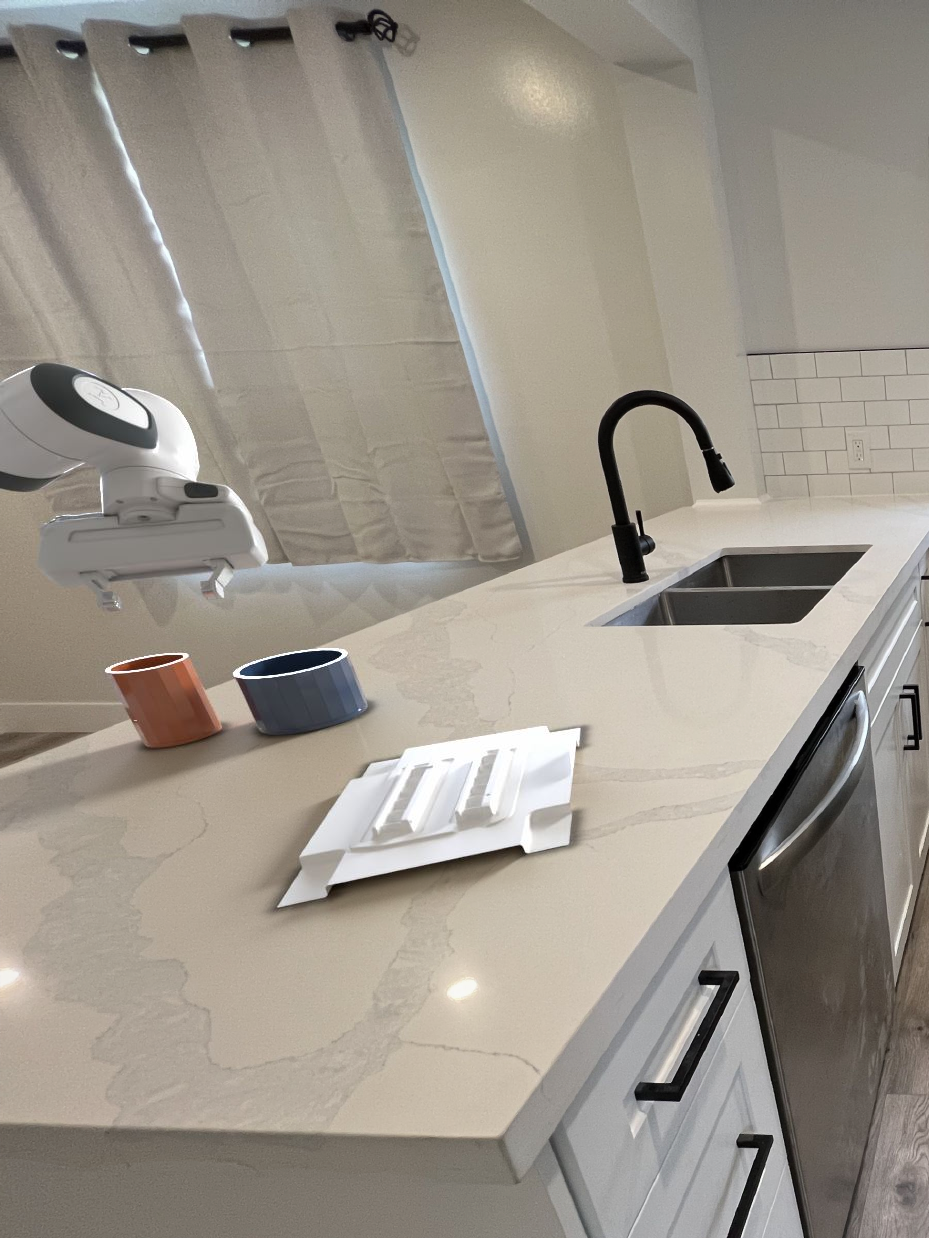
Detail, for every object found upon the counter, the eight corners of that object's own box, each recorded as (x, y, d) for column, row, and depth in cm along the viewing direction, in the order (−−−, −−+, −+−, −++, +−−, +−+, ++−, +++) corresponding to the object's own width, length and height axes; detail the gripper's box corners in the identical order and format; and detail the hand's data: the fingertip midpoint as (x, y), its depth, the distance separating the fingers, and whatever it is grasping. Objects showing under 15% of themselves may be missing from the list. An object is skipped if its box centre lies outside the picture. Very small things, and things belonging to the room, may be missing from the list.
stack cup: (239, 727, 94) (213, 672, 91) (335, 696, 103) (314, 645, 100) (291, 740, 90) (265, 682, 87) (387, 706, 99) (366, 653, 96)
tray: (275, 908, 61) (256, 866, 59) (372, 772, 84) (359, 740, 83) (571, 844, 68) (560, 805, 66) (583, 735, 92) (575, 705, 90)
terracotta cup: (133, 743, 91) (93, 669, 87) (203, 721, 97) (169, 650, 93) (163, 751, 89) (123, 675, 85) (234, 728, 94) (200, 656, 90)
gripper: (20, 501, 92) (23, 601, 88) (244, 485, 101) (255, 576, 97) (58, 534, 98) (63, 630, 94) (267, 516, 106) (279, 603, 102)
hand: (162, 602), depth 96 cm, fingers open, 8 cm apart
